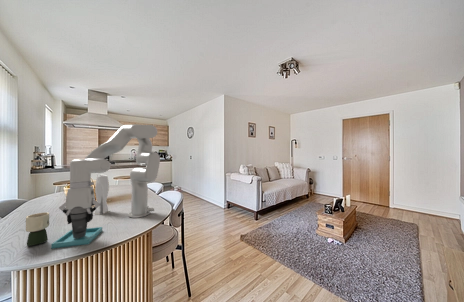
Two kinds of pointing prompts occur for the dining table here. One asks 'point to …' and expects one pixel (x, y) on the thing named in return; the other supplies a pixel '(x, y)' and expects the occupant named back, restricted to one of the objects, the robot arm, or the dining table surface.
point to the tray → (69, 241)
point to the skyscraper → (102, 194)
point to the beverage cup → (79, 221)
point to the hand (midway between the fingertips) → (80, 221)
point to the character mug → (37, 228)
